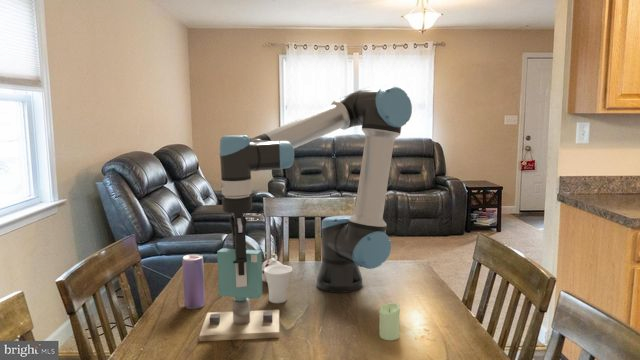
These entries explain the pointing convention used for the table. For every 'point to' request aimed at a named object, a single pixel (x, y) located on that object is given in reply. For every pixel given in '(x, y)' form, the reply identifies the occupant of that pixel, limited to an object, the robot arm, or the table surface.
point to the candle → (389, 321)
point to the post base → (240, 330)
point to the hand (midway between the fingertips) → (240, 282)
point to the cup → (278, 282)
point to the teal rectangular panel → (229, 275)
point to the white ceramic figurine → (268, 263)
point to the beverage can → (193, 281)
